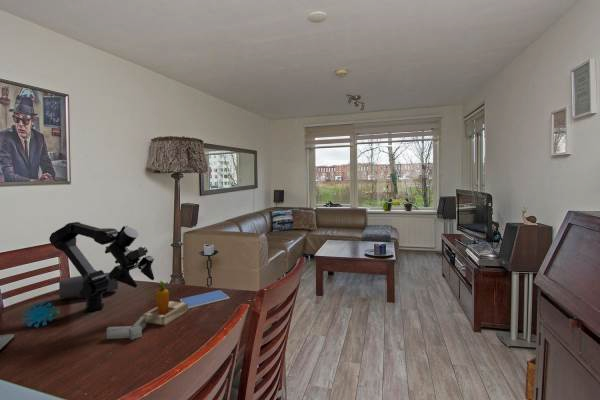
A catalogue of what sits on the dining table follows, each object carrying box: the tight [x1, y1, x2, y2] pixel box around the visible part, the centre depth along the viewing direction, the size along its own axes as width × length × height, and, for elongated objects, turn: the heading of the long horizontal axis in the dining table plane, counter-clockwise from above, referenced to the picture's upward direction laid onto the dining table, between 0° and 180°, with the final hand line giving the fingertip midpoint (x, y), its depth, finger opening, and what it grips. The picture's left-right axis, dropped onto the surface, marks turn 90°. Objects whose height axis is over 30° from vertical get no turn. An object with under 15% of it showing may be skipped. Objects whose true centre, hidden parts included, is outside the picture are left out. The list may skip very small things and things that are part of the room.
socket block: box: [142, 300, 189, 326], centre depth 129 cm, size 10×14×3 cm
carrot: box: [155, 280, 170, 315], centre depth 126 cm, size 5×5×15 cm
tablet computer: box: [179, 289, 230, 310], centre depth 146 cm, size 19×13×1 cm, turn 126°
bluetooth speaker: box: [58, 271, 119, 299], centre depth 152 cm, size 23×9×10 cm, turn 120°
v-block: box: [106, 315, 147, 341], centre depth 114 cm, size 9×13×4 cm, turn 140°
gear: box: [22, 301, 61, 329], centre depth 124 cm, size 11×6×10 cm
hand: (145, 283), depth 128 cm, fingers open, 9 cm apart
